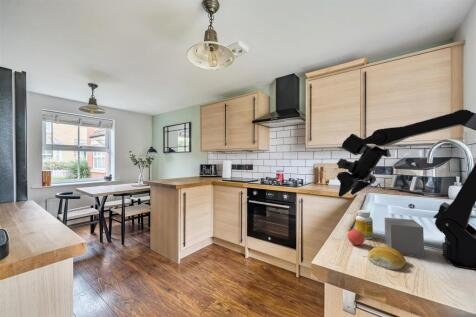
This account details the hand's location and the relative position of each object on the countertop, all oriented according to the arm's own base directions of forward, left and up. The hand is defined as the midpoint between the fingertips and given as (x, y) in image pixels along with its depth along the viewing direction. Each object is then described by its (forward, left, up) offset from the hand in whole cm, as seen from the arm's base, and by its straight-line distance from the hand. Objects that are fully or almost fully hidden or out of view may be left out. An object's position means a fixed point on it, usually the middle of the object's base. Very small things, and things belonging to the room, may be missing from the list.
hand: (345, 195), depth 78 cm
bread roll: (-8, +21, -15) cm, 27 cm away
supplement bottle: (-6, +3, -15) cm, 16 cm away
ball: (-2, +11, -12) cm, 17 cm away
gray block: (-15, +10, -15) cm, 23 cm away
